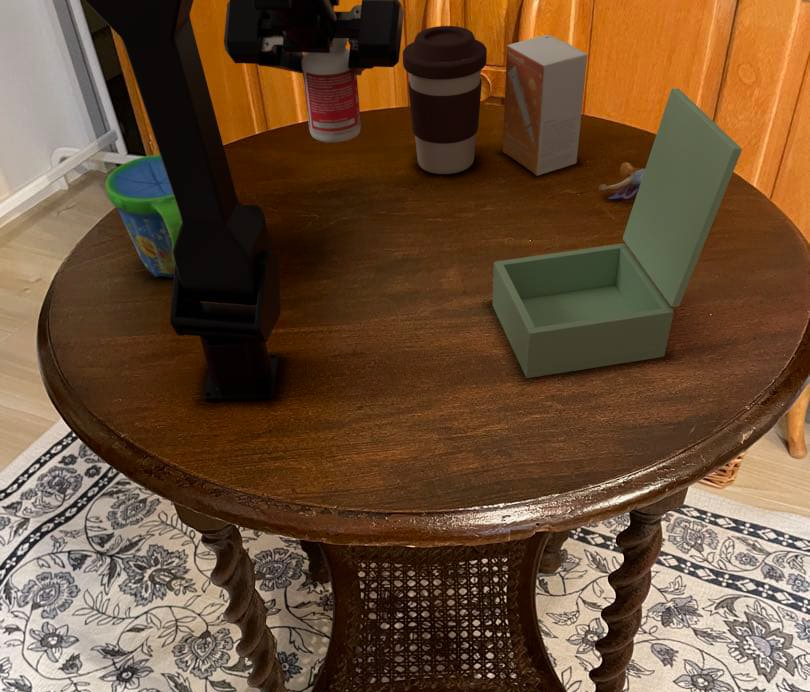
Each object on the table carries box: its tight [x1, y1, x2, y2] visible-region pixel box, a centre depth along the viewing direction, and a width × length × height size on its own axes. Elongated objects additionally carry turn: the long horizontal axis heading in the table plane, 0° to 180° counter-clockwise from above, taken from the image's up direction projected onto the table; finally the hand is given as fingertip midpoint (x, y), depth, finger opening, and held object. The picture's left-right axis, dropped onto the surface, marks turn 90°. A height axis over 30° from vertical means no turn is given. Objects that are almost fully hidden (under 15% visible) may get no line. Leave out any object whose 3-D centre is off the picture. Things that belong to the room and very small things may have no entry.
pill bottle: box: [302, 38, 362, 144], centre depth 99 cm, size 6×6×11 cm
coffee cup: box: [402, 25, 488, 175], centre depth 106 cm, size 10×10×15 cm
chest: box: [491, 242, 675, 379], centre depth 84 cm, size 14×13×5 cm
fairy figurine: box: [598, 161, 645, 200], centre depth 100 cm, size 12×5×12 cm
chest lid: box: [622, 87, 743, 308], centre depth 77 cm, size 14×13×1 cm
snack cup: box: [105, 153, 182, 279], centre depth 94 cm, size 16×10×10 cm
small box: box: [502, 34, 588, 176], centre depth 106 cm, size 8×6×13 cm
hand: (332, 70), depth 99 cm, fingers closed on pill bottle, 6 cm apart
